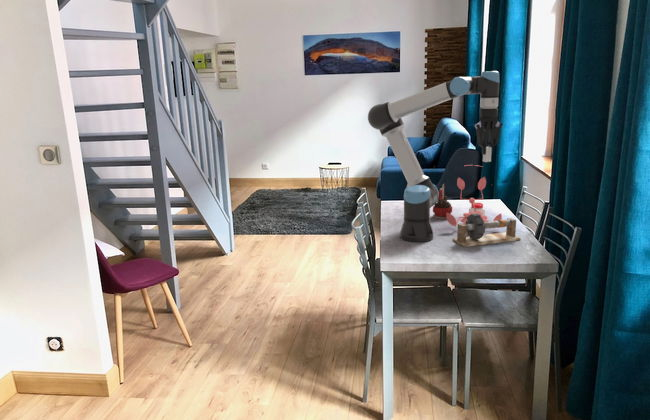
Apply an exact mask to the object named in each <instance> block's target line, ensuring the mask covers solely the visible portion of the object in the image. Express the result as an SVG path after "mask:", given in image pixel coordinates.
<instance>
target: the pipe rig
mask: <svg viewBox="0 0 650 420" xmlns="http://www.w3.org/2000/svg"><path fill="white" fill-rule="evenodd" d="M483 225H484V226H485V230H486V229H495V228H498V229H500V228H505V227H506V230H505V231H504V232H496V233H489V234H484V235H483V236H482V238H480V239H477V240H473V239H471V238H470V236H467V231H471V230H475V224H474V223H472V224H463V222H461V223H457V232H456V233H457V236H456V238H455V237H453V238H452V242H455V243H456V244H458V245H460V246H462V247H463V248H468V247H473V246H475V247H476V246H481V245H482V246H483V245H484V246H485V245H489V244H490V245H492V244H499V243H506V242H508V243H509V242H514V241H521V237H519V236H517V235H516V232H517V231H516V230H517V229H516V228H517V219H514V218H512V217H507V218H506V219H502V220H497V221H493V220H492V221H489V222H484V224H483Z"/></svg>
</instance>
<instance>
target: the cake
mask: <svg viewBox="0 0 650 420" xmlns="http://www.w3.org/2000/svg"><path fill="white" fill-rule="evenodd" d="M438 192H439V196H438V200H437V202H436V203H435V205H433V206H432V213H433V215H432V217H433V218H435V219H441V220H443V219H446V220H447V218H446V213H449V214H451V215H452V213H453V206H452V204H451V202H449V201H448V196H446V195H445V184H444V183H443V184H442V188H439V190H438Z"/></svg>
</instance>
